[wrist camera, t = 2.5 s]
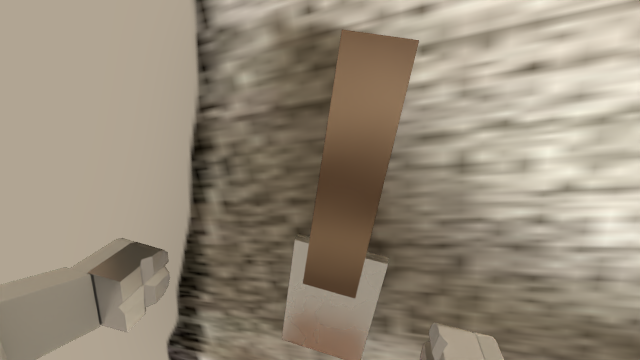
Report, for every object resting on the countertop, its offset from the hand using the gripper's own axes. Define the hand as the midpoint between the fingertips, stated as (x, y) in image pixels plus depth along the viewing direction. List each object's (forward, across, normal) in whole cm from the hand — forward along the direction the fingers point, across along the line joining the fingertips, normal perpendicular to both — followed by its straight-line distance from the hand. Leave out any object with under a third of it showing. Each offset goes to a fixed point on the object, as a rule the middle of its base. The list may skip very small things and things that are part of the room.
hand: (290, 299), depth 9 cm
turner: (+10, -1, +3) cm, 10 cm away
